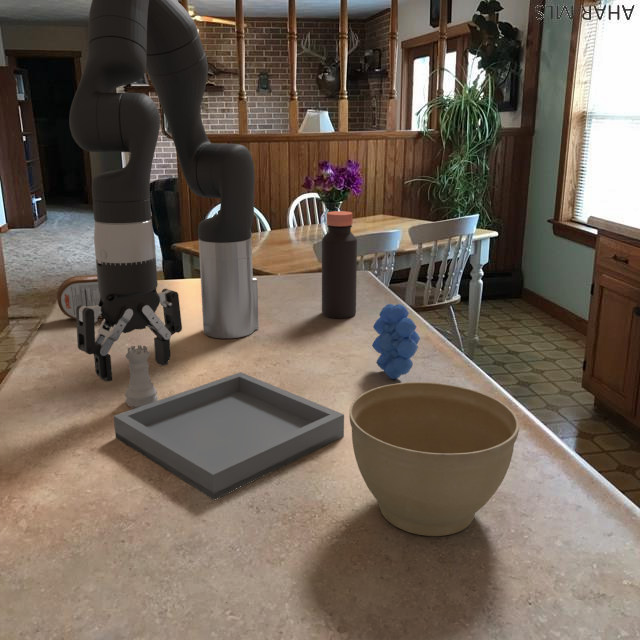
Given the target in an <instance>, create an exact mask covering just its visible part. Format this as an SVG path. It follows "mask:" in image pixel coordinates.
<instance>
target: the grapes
mask: <svg viewBox="0 0 640 640" xmlns="http://www.w3.org/2000/svg"><path fill="white" fill-rule="evenodd" d="M409 315H410V313H409V311H408V309H407V307H406V306H405V305H403V304H401V303H398V304H395V305H394V304H393V303H388V304H385V306H384V307H383V308H382V309H381V311H380V312H379V318H378V319H376V320H375V323H374V324H373V327H372V328H373V329H374V331H375V332H376V333H377V334H378V336H377V337H376V338H375V339H374V341H373V343H372V345H371V347H372V348H373V350H375V351H376V352H377V354H380V355H379V356H378V358H377V359H376V361H375V363H376V364H377V366H378V367H379V368H380V369H381V370H382V371H383V372H384V373H385V375H387V377H388V378H390V379H391V380H397V379H399V378H400V377H401V376H403V375H407V374H408V373H409V372H410V371H411V369H412V367H413V364H414V363H413V361H412V359H411V358H412V357H414V356H415V354H416V353H417V351H418V349H419V346H418V344H419V342H420V340H421V337H420V335H419V333H418V332H417V331H416V328H417V325H416V324H415V322H414V321H413V320H412V318H409Z"/></svg>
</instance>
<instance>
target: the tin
mask: <svg viewBox="0 0 640 640" xmlns="http://www.w3.org/2000/svg"><path fill="white" fill-rule="evenodd" d="M56 299H57V305H58V307H59V309H60V311H61V312H62V313H63V315H65V316H66V317H68V318H70V319H72V320H75V321H77V318H76V308H77V307H78V306H79V305H83V306H86V307H88V306H96V305H98V304H99V301H100V293H99V289H98V278H97V274H89V275H87V274H85V275H74V276H71V277H69V278H67V279H65V280H63V282H62V283H61V284H60V286H59V287H58V289H57V293H56ZM97 319H104V318H103V317H102V316H101V315H100V314H99V316H98V318H97Z"/></svg>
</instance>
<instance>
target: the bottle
mask: <svg viewBox="0 0 640 640" xmlns="http://www.w3.org/2000/svg"><path fill="white" fill-rule="evenodd" d="M353 218H354V217H353V212H352V211H344V210H342V211H341V210H334V211H329V212H326V227H327V228H328V232H327V233H326V234H324V236H323V237H322V239H321V314H322V315H323V316H325V317H327V318H331V319H347V318H352V317H354V316H355V315H356V313H357V273H358V272H357V265H358V264H357V263H358V239H357V237H356V236H355V235H354V234H353V233H352V232H351V231H352V229H351V228H353Z"/></svg>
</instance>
